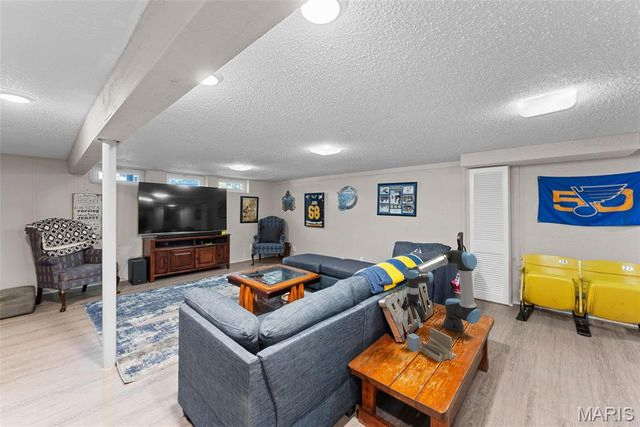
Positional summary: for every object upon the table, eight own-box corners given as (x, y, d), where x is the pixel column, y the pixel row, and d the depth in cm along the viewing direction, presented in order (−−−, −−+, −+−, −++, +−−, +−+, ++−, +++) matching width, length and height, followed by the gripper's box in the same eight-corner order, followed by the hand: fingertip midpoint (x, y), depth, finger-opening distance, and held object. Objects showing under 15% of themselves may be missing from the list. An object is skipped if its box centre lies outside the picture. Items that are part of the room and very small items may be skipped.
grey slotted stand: (436, 345, 182) (436, 325, 182) (457, 356, 168) (456, 335, 167) (420, 350, 175) (420, 330, 175) (440, 363, 161) (440, 341, 161)
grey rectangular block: (413, 345, 182) (413, 333, 182) (420, 349, 177) (420, 337, 176) (407, 347, 179) (407, 335, 179) (413, 352, 174) (413, 339, 174)
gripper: (396, 288, 187) (396, 317, 187) (423, 299, 164) (423, 332, 165) (404, 287, 190) (404, 315, 191) (431, 297, 168) (431, 329, 168)
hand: (413, 323), depth 178 cm, fingers open, 13 cm apart
